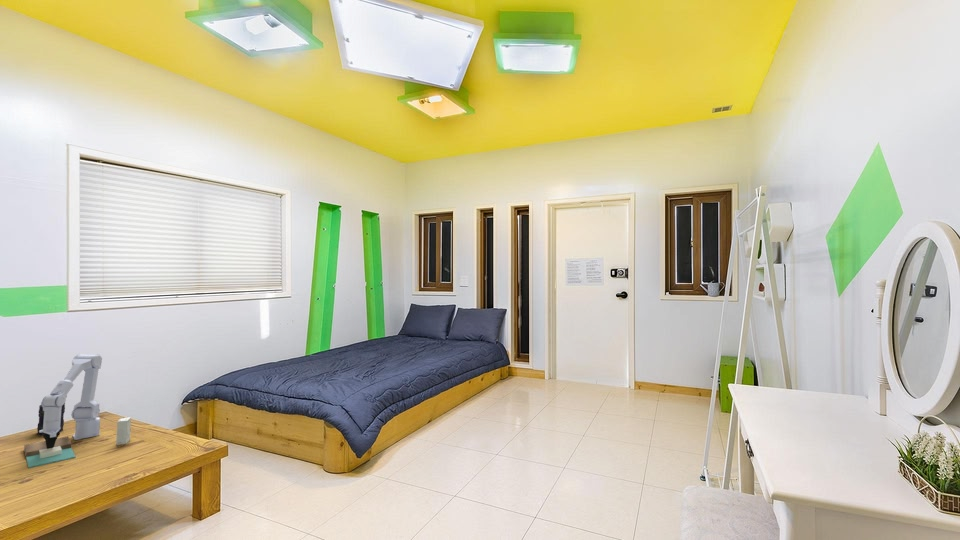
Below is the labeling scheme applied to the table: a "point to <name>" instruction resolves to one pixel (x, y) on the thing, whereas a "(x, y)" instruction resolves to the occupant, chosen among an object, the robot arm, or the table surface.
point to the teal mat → (50, 458)
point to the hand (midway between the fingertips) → (50, 447)
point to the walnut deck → (35, 447)
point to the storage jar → (41, 419)
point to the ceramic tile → (50, 452)
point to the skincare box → (123, 431)
